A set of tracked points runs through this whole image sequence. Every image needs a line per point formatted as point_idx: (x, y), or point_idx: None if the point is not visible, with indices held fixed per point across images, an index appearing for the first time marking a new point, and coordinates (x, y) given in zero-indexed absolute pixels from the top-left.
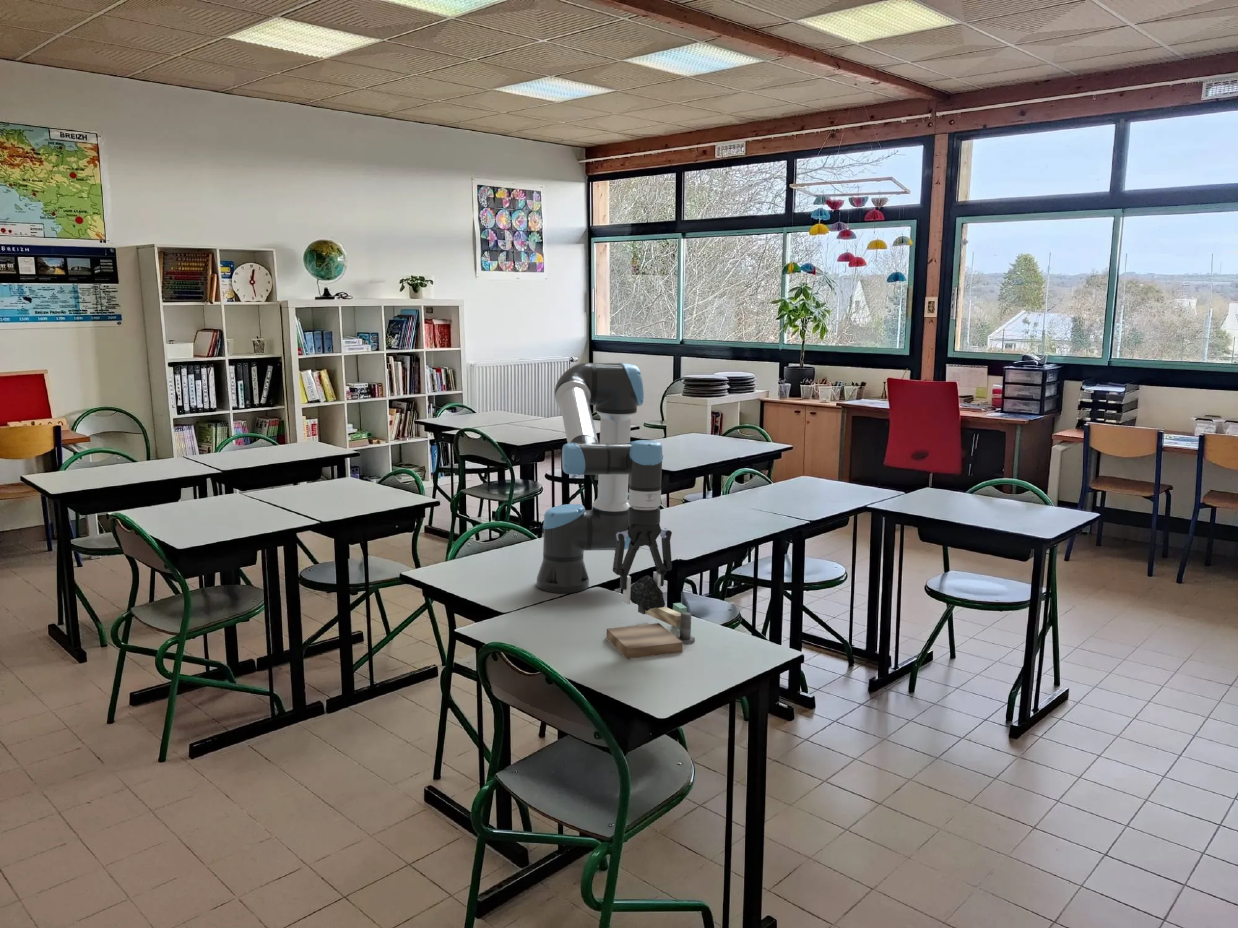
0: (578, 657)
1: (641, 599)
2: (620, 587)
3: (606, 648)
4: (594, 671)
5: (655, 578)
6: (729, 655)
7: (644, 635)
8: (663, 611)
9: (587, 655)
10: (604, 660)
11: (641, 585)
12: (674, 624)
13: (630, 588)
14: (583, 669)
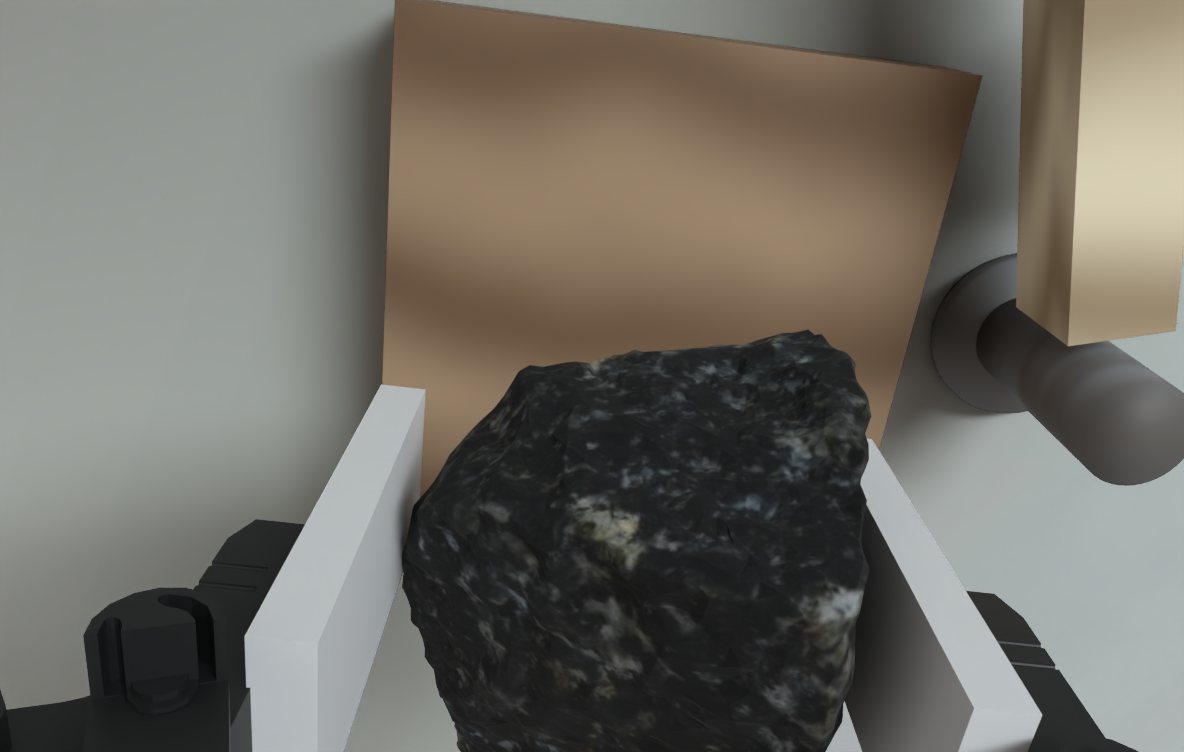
0: (42, 307)
1: (487, 729)
2: (247, 529)
3: (322, 227)
4: (95, 562)
5: (905, 710)
6: (1071, 670)
7: (651, 320)
8: (1072, 121)
9: (123, 299)
10: (222, 432)
11: (597, 650)
12: (1024, 285)
13: (370, 666)
14: (28, 509)
